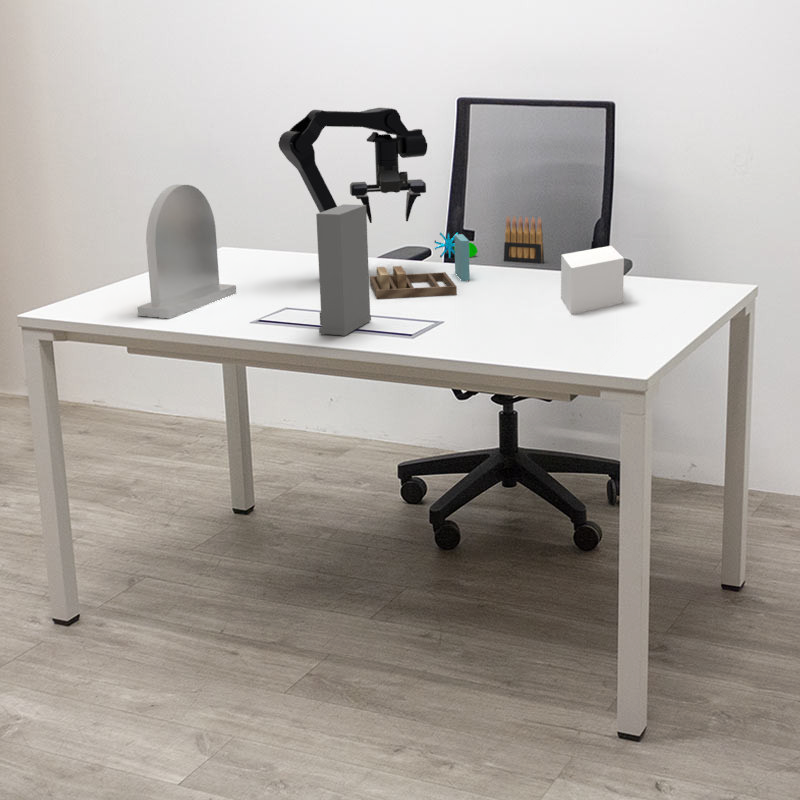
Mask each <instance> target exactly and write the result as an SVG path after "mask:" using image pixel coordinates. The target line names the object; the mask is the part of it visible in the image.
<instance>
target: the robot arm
mask: <svg viewBox="0 0 800 800" xmlns="http://www.w3.org/2000/svg"><path fill="white" fill-rule="evenodd" d="M401 119H402V118H401V115H400V113H399V112H398V110H397V109H395V108H391V107H390V108H389V107H376V108H369V109H366V110H361V111H344V110H342V111H341V110H322V109H312V110H310V111H309V112H308V113H307V114H306V116H305V117H304V118H302V119H300V120H299V121H298V122H297V123H296V124H294V125H293V126H292V127H291V128H290V129H289V130H287V131H284V132H283V133H282V134H281V135H280V136H279V140H278V147H279V150H280V152H281V153H282V154H283V156H284V157H285V158H286V159H287V161H288V162H289V163H290V164H291V165H293V167H295V169H296V170H297V171H298V173H299V174H300V177H301V178H302V181H303V183H304V185H305V186H306V189H307V190H308V193H309V195H310V197H311V198H312V200H313V202H314V204H315V207H316V208H317V210H318V213H320V212H323V211H326V210H329V209H332V208H335V207H338V205H337V203H336V201H335V199H334V197H333V195H332V194H331V191H330V190H329V187H328V185H327V184H326V182H325V179H324V177H323V176H322V174H321V171H320V170H319V168H318V165H317V164H316V155H315V149H314V145H313V144H314V143H315V142H316V141H318V138H319V137H320V135H321V133H322V131H323V130H324V128H325V127H333V128H334V127H335V128H336V127H337V128H338V127H340V128H341V127H342V128H344V127H345V128H348V127H349V128H365V129H368V130H373V131H372V133H371V134H370V135H369V136H368V137H367V138H366V142H369V143H374V153H375V154H374V155H375V160H374V161H375V183H376V184H367V182H366V181H352V182H351V183H350V185H349V194H350V195H351V196H352V197H355V198H356V199H357V200H361V203H362V205H366V215H367V219H368V221H369V223H370V224H372V223H373V222H372V221H373V219H372V211H371V205H370V197H369V195H368V193H375V192H377V193H379V192H381V193H383V194H388V193H395V194H396V193H400V192H401V191H403V192H405V191H407V192H406V200H405V201H406V202H405V222H409V219H410V215H411V212H412V209H413V206H414V203H415V201H416V199H417V198H419V197H421V196H422V195H421V194H425V193H427V184H426V182H425V181H424V180H422V178H419V179H408V178H409V177H408V171H399V170H400V169H399V168H400V167H399V157H401V158H402V159H406V158H418V157H424V156H425V155H426V154H427V151H428V142H427V139H426V137H425V135H424V134H423V129H420V128H415V129H411V130H410V129H409V130H408V128H407V127H406V125H405V124H404V123H403V121H402V120H401ZM379 132H384V133H383V134H379ZM392 135H395V137H392Z"/></svg>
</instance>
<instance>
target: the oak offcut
mask: <svg viewBox="0 0 800 800" xmlns="http://www.w3.org/2000/svg"><path fill="white" fill-rule="evenodd" d="M392 272H393V274H392V275H393V280H394V284H395V286H396V288H397V289H404V288H407V286H406V274H407V273H406V271H405V270H404V268H403V267H402V265H399V266H398V265H397V266H396V265H395V266H392Z"/></svg>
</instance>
